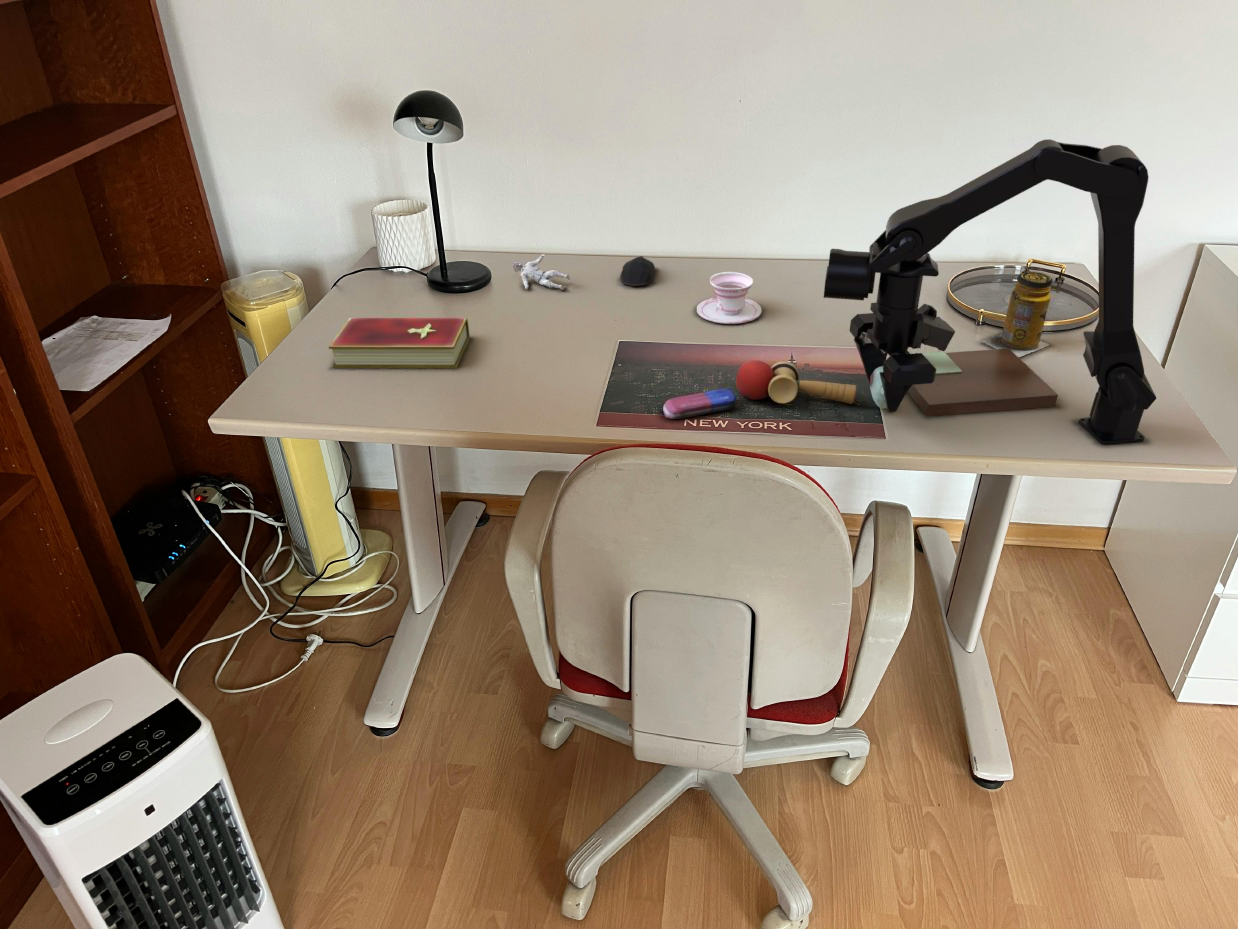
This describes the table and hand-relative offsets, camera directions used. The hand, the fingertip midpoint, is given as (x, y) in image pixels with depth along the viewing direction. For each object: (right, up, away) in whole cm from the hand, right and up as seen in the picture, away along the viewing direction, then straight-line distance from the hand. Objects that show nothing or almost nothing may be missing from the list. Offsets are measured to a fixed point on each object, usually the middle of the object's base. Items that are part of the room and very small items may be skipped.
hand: (882, 399), depth 136 cm
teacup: (-19, +18, +33) cm, 42 cm away
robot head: (0, -1, +1) cm, 2 cm away
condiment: (+28, +10, +19) cm, 35 cm away
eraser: (-27, -2, +3) cm, 27 cm away
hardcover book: (-77, +9, +21) cm, 80 cm away
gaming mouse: (-35, +29, +49) cm, 67 cm away
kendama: (-12, 0, +5) cm, 13 cm away
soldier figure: (-55, +26, +46) cm, 76 cm away
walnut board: (+15, +2, +7) cm, 17 cm away
